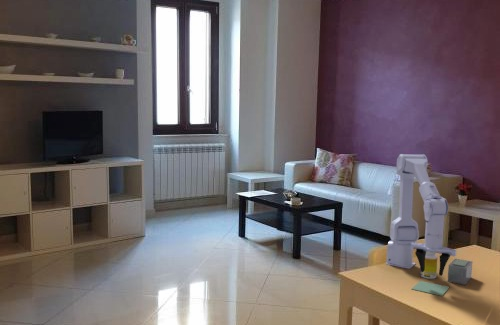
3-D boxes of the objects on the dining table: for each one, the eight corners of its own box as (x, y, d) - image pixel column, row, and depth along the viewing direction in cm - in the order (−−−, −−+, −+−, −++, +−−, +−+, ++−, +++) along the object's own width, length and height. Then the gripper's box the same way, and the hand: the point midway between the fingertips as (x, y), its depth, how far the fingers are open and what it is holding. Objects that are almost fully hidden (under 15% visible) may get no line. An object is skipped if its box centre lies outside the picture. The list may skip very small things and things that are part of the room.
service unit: (447, 281, 180) (448, 264, 179) (454, 273, 188) (455, 257, 188) (465, 285, 177) (466, 267, 176) (471, 277, 185) (472, 260, 184)
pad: (411, 289, 171) (411, 288, 171) (420, 281, 179) (420, 280, 179) (442, 296, 166) (442, 295, 166) (449, 287, 174) (449, 286, 174)
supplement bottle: (439, 278, 183) (441, 250, 182) (427, 280, 181) (429, 252, 180) (428, 273, 188) (429, 246, 187) (416, 275, 186) (418, 248, 185)
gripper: (408, 232, 171) (406, 271, 173) (453, 239, 163) (451, 280, 165) (415, 228, 177) (412, 266, 178) (458, 235, 169) (456, 274, 170)
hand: (431, 273), depth 172 cm, fingers open, 5 cm apart
